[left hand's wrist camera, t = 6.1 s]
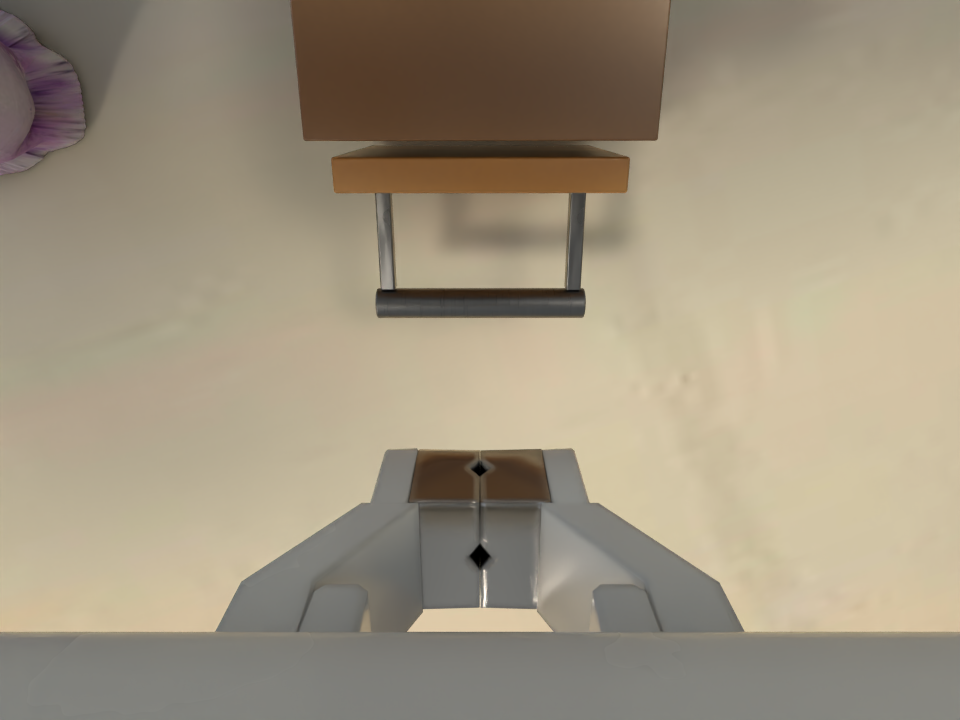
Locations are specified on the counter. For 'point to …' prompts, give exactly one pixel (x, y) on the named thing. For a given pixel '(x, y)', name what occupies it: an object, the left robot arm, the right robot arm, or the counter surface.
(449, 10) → the cabinet
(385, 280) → the drawer
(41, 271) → the counter surface
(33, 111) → the figurine
